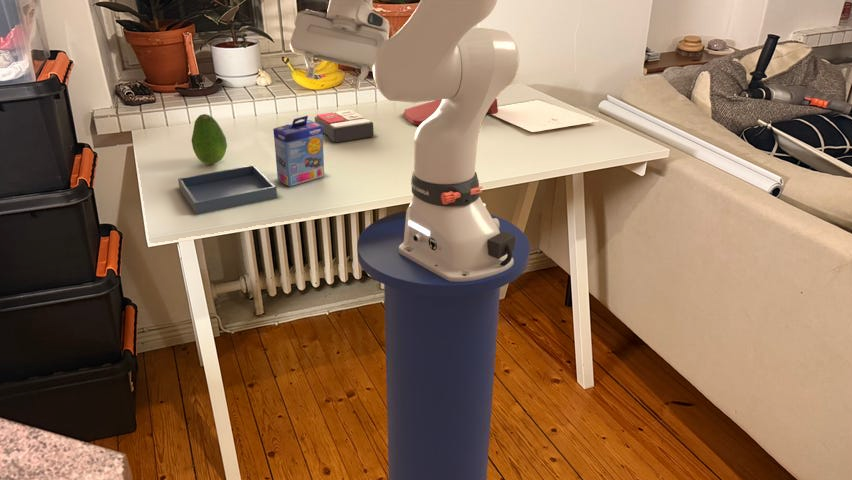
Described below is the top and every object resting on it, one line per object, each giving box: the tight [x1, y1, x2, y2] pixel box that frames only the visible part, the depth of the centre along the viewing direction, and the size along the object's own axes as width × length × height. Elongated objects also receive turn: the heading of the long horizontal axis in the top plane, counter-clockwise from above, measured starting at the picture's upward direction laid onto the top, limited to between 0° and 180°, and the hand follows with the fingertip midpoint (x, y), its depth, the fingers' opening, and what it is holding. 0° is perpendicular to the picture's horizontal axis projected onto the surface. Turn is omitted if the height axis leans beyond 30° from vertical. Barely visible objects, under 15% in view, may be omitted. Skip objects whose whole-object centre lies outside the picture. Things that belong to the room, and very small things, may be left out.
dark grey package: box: [314, 109, 375, 143], centre depth 185 cm, size 11×4×15 cm
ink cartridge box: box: [272, 115, 325, 188], centre depth 153 cm, size 10×6×14 cm, turn 130°
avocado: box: [191, 113, 228, 165], centre depth 164 cm, size 8×8×12 cm
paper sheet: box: [486, 99, 599, 133], centre depth 194 cm, size 24×29×1 cm
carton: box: [403, 98, 499, 127], centre depth 196 cm, size 12×5×25 cm
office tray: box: [177, 164, 278, 215], centre depth 150 cm, size 15×17×2 cm
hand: (332, 82), depth 142 cm, fingers open, 8 cm apart
